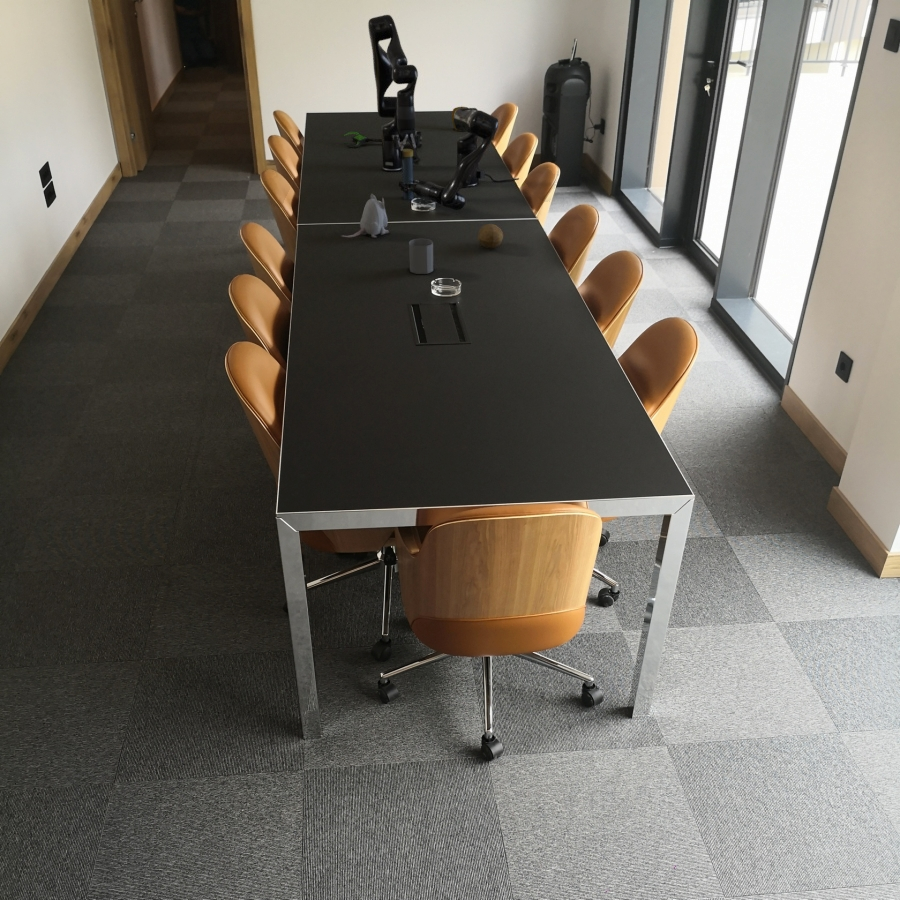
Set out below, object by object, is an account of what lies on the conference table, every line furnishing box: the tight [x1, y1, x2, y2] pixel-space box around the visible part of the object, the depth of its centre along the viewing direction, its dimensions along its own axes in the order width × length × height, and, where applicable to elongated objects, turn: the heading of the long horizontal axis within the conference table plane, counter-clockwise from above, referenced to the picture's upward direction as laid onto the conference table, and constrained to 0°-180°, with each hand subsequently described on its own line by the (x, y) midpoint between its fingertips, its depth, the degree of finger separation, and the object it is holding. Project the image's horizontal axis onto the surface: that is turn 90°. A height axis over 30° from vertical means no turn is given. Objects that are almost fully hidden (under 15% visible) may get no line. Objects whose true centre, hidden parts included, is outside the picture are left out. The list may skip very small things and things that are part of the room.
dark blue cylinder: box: [402, 157, 414, 201], centre depth 376 cm, size 4×4×20 cm
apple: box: [451, 105, 468, 132], centre depth 487 cm, size 11×11×13 cm
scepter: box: [342, 131, 382, 148], centre depth 461 cm, size 6×13×30 cm
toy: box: [341, 193, 390, 239], centre depth 333 cm, size 9×24×15 cm, turn 137°
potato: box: [477, 223, 504, 249], centre depth 326 cm, size 10×14×8 cm
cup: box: [408, 237, 434, 275], centre depth 305 cm, size 8×8×10 cm
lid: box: [403, 148, 413, 157], centre depth 371 cm, size 5×5×2 cm
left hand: (407, 157), depth 372 cm, fingers open, 5 cm apart
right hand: (404, 182), depth 380 cm, fingers closed on dark blue cylinder, 4 cm apart
